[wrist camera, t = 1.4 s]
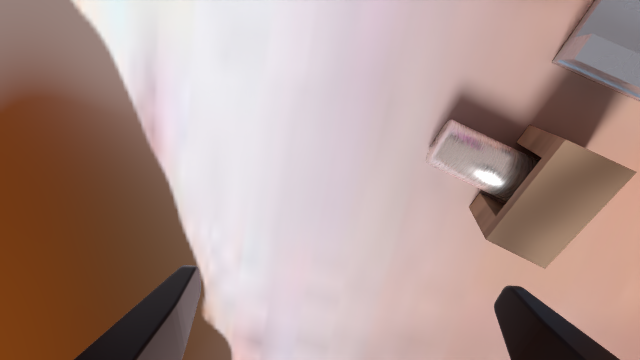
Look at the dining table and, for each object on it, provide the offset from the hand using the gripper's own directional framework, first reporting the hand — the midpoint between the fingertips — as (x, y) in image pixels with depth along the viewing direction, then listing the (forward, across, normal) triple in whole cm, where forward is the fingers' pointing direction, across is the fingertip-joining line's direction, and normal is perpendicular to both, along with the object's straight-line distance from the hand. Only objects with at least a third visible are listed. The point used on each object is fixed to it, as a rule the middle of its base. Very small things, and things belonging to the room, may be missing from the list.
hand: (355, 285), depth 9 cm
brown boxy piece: (+13, -15, +3) cm, 20 cm away
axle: (+14, -12, +2) cm, 19 cm away
